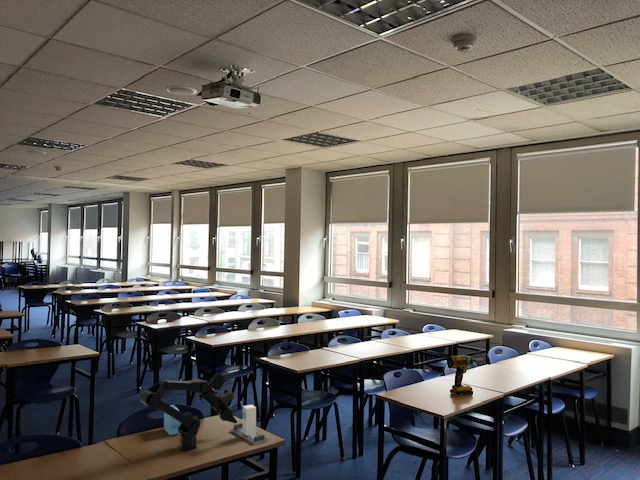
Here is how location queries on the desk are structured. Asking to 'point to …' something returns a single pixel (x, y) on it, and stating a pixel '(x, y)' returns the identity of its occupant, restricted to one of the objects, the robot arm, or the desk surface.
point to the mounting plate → (251, 438)
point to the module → (249, 420)
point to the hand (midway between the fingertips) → (235, 419)
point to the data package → (171, 424)
